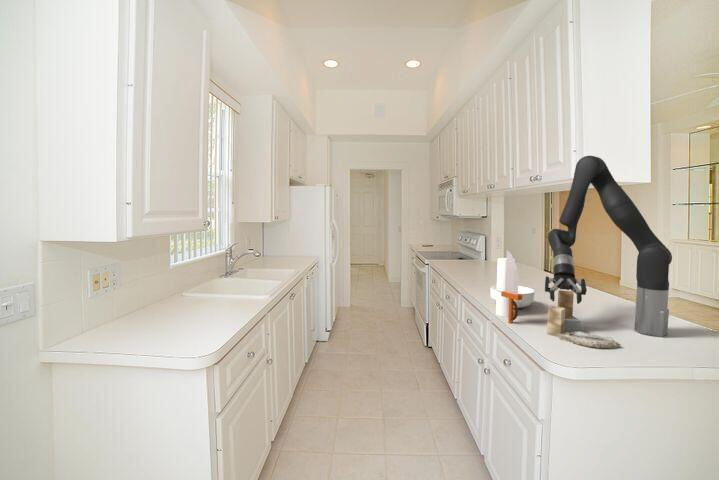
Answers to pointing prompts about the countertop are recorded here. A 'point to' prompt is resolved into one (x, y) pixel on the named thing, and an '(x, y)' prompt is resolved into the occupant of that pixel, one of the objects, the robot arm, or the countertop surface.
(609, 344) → the fossil
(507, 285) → the knife
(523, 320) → the countertop surface
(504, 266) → the cylindrical container
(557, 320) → the oak block
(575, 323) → the base block
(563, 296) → the walnut block
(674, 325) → the countertop surface
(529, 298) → the bowl
